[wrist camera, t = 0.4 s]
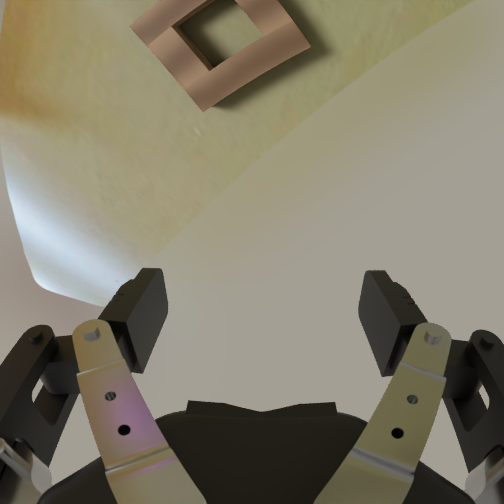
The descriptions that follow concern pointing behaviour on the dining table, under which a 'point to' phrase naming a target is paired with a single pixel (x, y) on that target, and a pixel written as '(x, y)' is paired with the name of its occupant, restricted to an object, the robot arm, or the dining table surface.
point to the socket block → (231, 70)
